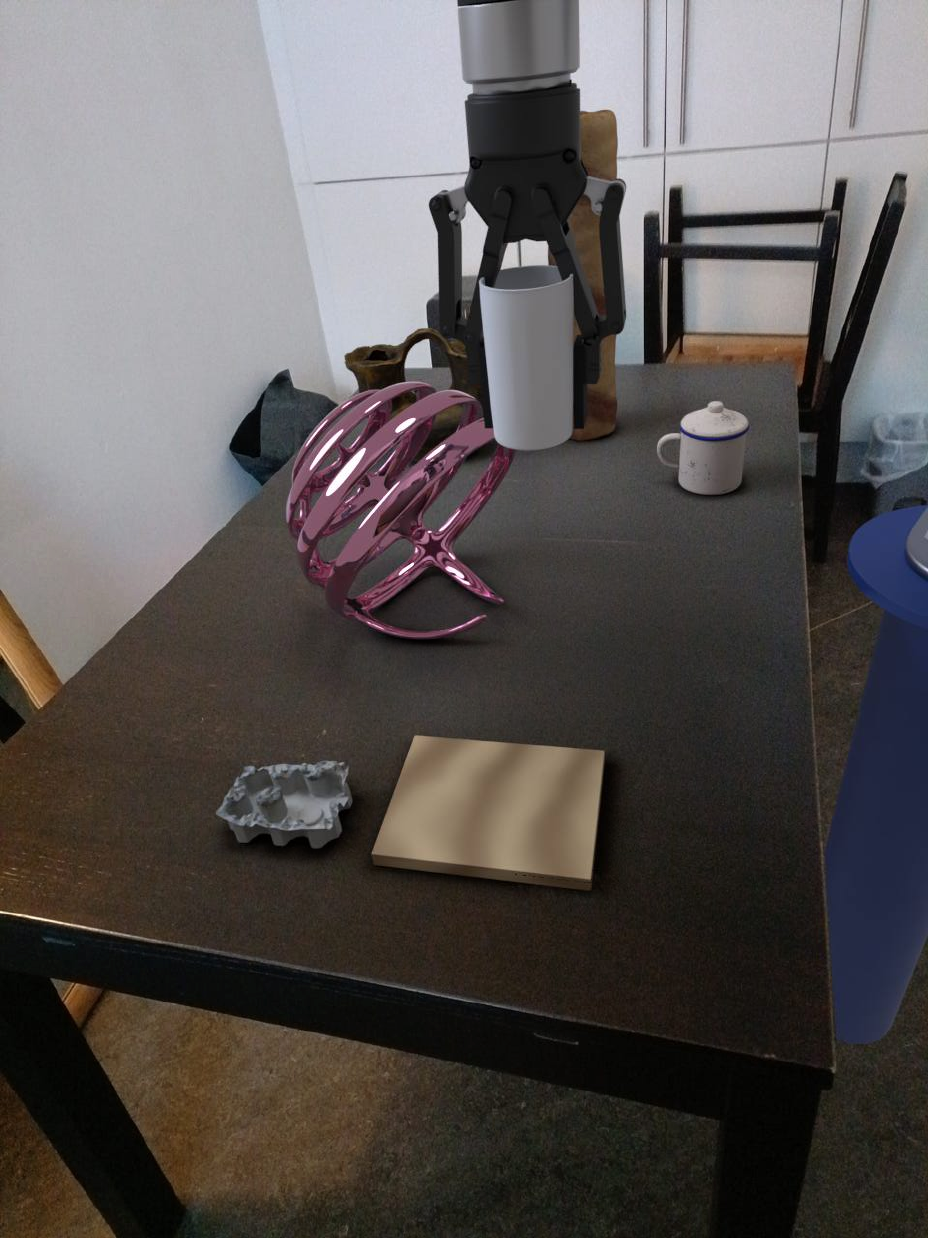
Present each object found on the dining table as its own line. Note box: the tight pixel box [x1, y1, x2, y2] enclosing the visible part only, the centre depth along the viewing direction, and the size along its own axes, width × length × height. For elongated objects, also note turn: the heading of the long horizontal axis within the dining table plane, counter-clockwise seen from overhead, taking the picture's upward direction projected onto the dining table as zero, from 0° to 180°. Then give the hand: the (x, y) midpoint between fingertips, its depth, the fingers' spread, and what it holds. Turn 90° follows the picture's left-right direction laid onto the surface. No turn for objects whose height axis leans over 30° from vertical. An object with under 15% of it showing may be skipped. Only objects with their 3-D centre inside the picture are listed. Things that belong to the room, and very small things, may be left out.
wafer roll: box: [547, 109, 619, 442], centre depth 123 cm, size 10×11×45 cm
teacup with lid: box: [656, 400, 750, 496], centre depth 113 cm, size 12×9×12 cm
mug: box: [479, 264, 574, 451], centre depth 63 cm, size 10×7×12 cm, turn 164°
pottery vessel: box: [343, 327, 484, 463], centre depth 128 cm, size 25×11×20 cm, turn 89°
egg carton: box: [215, 760, 353, 849], centre depth 73 cm, size 11×8×4 cm
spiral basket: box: [285, 381, 518, 641], centre depth 91 cm, size 28×28×27 cm
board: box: [370, 734, 606, 892], centre depth 71 cm, size 18×14×2 cm
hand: (536, 421), depth 66 cm, fingers closed on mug, 6 cm apart
